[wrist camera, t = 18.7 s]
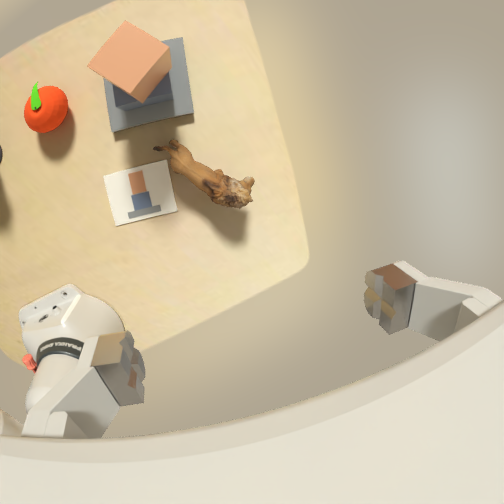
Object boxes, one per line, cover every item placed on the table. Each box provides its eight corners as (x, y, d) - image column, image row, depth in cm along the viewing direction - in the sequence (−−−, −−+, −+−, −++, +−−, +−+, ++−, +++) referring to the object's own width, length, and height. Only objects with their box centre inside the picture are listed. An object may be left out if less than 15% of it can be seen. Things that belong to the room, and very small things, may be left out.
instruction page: (116, 225, 43) (115, 226, 43) (103, 175, 40) (103, 176, 39) (177, 210, 44) (177, 211, 44) (166, 159, 41) (166, 159, 41)
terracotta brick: (142, 103, 30) (130, 93, 22) (108, 81, 28) (86, 65, 20) (172, 67, 30) (169, 46, 21) (137, 45, 27) (125, 20, 19)
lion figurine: (248, 174, 45) (265, 184, 37) (232, 205, 46) (245, 221, 38) (161, 132, 39) (157, 132, 31) (145, 165, 40) (138, 173, 32)
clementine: (32, 94, 31) (11, 90, 25) (69, 75, 32) (51, 67, 26) (41, 139, 35) (20, 141, 28) (78, 122, 36) (61, 120, 29)
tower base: (114, 132, 38) (99, 131, 30) (103, 59, 33) (88, 45, 26) (193, 113, 39) (195, 108, 32) (182, 40, 35) (183, 21, 27)
